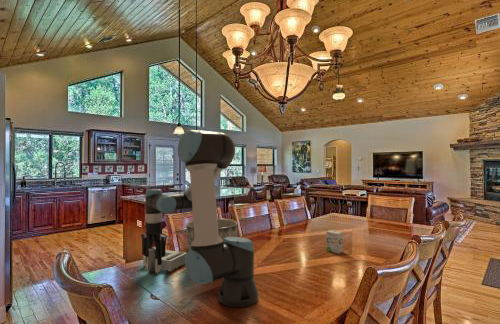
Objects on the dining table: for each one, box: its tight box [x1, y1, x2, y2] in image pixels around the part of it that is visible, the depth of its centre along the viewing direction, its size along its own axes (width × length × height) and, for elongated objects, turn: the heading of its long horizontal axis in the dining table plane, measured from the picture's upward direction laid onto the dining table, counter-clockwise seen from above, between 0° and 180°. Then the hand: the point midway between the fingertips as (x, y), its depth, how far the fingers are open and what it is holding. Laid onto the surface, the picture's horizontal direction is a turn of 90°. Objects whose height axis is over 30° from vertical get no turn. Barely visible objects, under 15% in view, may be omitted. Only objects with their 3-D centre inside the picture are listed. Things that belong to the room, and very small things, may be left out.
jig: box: [142, 249, 187, 272], centre depth 148 cm, size 14×17×6 cm
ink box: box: [325, 229, 344, 254], centre depth 171 cm, size 8×5×12 cm, turn 44°
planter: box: [185, 217, 239, 252], centre depth 145 cm, size 26×26×22 cm
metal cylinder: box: [147, 246, 160, 275], centre depth 136 cm, size 5×5×12 cm
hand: (153, 270), depth 136 cm, fingers closed on metal cylinder, 4 cm apart
